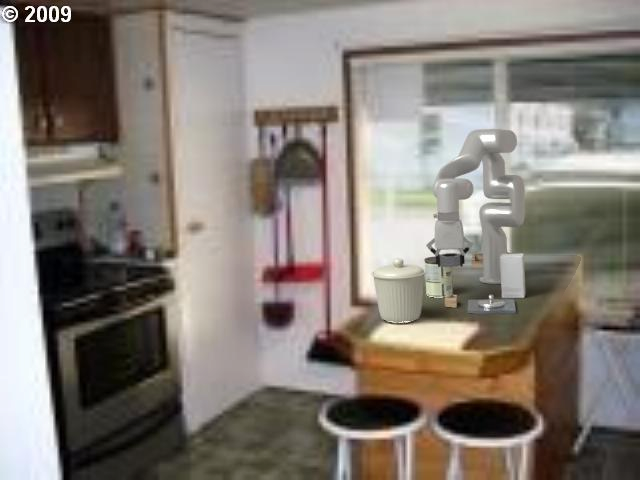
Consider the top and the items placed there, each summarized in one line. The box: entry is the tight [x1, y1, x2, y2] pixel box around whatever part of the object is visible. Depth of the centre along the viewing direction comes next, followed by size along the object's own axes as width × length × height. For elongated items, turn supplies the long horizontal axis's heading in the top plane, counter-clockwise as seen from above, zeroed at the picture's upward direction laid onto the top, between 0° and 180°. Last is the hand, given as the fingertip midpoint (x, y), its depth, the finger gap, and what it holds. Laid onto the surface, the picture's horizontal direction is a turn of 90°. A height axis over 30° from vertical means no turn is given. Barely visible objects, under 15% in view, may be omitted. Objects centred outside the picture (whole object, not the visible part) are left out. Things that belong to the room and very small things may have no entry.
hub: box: [467, 294, 517, 315], centre depth 275 cm, size 16×16×4 cm
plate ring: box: [439, 252, 461, 268], centre depth 280 cm, size 7×7×4 cm
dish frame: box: [471, 252, 517, 270], centre depth 353 cm, size 20×19×3 cm
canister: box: [371, 257, 426, 322], centre depth 265 cm, size 18×18×21 cm
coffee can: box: [424, 255, 454, 299], centre depth 298 cm, size 10×10×14 cm
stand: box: [444, 292, 458, 308], centre depth 282 cm, size 6×4×4 cm, turn 168°
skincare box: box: [500, 253, 526, 299], centre depth 289 cm, size 8×7×16 cm
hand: (450, 265), depth 281 cm, fingers closed on plate ring, 7 cm apart
